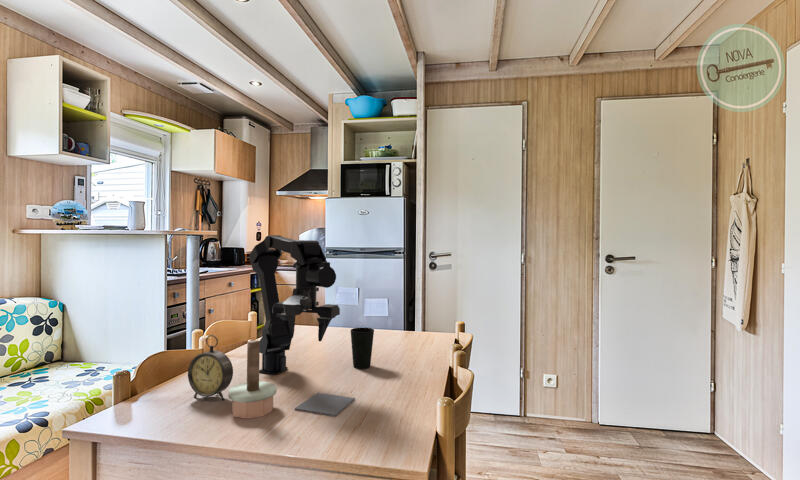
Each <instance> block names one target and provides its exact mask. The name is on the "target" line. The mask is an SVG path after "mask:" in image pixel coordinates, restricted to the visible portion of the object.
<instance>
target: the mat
mask: <svg viewBox="0 0 800 480" xmlns="http://www.w3.org/2000/svg"><path fill="white" fill-rule="evenodd" d="M355 400H356V398H355V397H349V396H344V395H336V394H330V393H329V394H328V393H323V392H316V393H315V394H313V395H312V396H311V397H309V398H307V399H306V400H305V401H303V402H301V403H300V404H299V405H297V406H296V407H294V410H295V411H301V412H305V413H312V414H316V415H317V414H319V415H324V416H330V417H337V416H338V415H339V414H340V413H341V412H343V411H344V410H345V409H346V408H347V407H348V406H349V405H350V404H352V403H353V402H354V401H355Z"/></svg>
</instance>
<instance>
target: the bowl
mask: <svg viewBox="0 0 800 480" xmlns="http://www.w3.org/2000/svg"><path fill="white" fill-rule="evenodd" d="M273 410H274V395H273V396H272V397H270V398H267V399H264V400H261V401H255V402H237V401H233V400H231V412H232V417H236V418H242V419H252V418H258V417H264V416H266V415H268V414H269V413H270V412H272V411H273Z"/></svg>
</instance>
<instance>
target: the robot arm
mask: <svg viewBox="0 0 800 480" xmlns="http://www.w3.org/2000/svg"><path fill="white" fill-rule="evenodd" d="M282 252H284V253H288V254H290V257H291V258H292V259H293V260H295V261H296V262H294V263H293V265H292V268H293V269H295V288H293V289H292V295H291V296H289V297H288V298H286V299H285V300H282V301H280V299H279V298H280V297H279V292H278V291H279V290H278V285H277V279H276V271H277V269H278V267H279V260H280V258H281V256H282V255H283V253H282ZM249 262H250V264H251V268H252V270H253V272H254V273H256V275H257V276H258V277H259V285H260V293H261V297H262V303H263V304H262V305H263V310H264V317H265V323H264V325H263V327H262V331H261V334H262V337H261V338H260V340H259V341H260V355H261V356H262V357H261V358H262V360H261V369H259V373H262V374H267V375H268V374H269V375H279V374H280V373H283V372H285V371H286V370H288V368H289V367H288V366H287V356H286V351H290V348H291V344H292V341H293V338H294V335H295V327H296V326H295V325H296V316H299V315H301V314H302V313H309V314H317V315H318V316H319V317H317V318H316V320H317V323H318V329H317V330H318V331H317V335H318V339H317V340H318V342H322V340H323V339H324V335H325V334H326V331H327V329H328V326H329V325H330V323H331V321H332V320H333V319H335V318H336V316H339V315H341V314H340V313H341V308H340V306H339V305H338V304H331V303H330V304H329V303H328V304H327V303H326V304H323V305H320V306H319V303H320V302H319V301H317V292H320V288H326V289H328V288H331V287H333V285H334V284H335V283H336V280H337V274H336V271H335V270H334V268H333V267H331V262H330V261H327V256H326V255H325V253H324V251H323V249H322V247H321V245H320V242H319V240H318V241H317V240H312V239H311V240H306V239H304V240H303V239H302V240H299V239H292V238H289V237H284V236H282V235H280V234H279V235H277V234H273V235H272V234H271V235H270V234H269V235H267V236H265V238H264V239H263V240H262V241H260V242H259V243H257V244H256V245H254V247H253V248H252V250H251V251H250V253H249Z"/></svg>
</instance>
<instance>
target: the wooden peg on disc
mask: <svg viewBox="0 0 800 480" xmlns="http://www.w3.org/2000/svg"><path fill="white" fill-rule="evenodd" d="M246 343H247V345H246V347H247V349H246V352H247V355H246V382H244V383H239V384H236V385H234V386H232V387H231V388H229V389H228V395H227V397H228V398H229V400H230V401H232V400H233V401H237V402H255V401H261V400H264V399H267V398H270V397H272V396H273V397H274V395H276V393H277V389H278V387H277V385H276V384H275V383H273V382H269V381H262V380H261V381H260V372H259V370H260V355H261V353H260V340H257V339H256V340H255V339H254V340H248V341H247V342H246Z"/></svg>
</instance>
